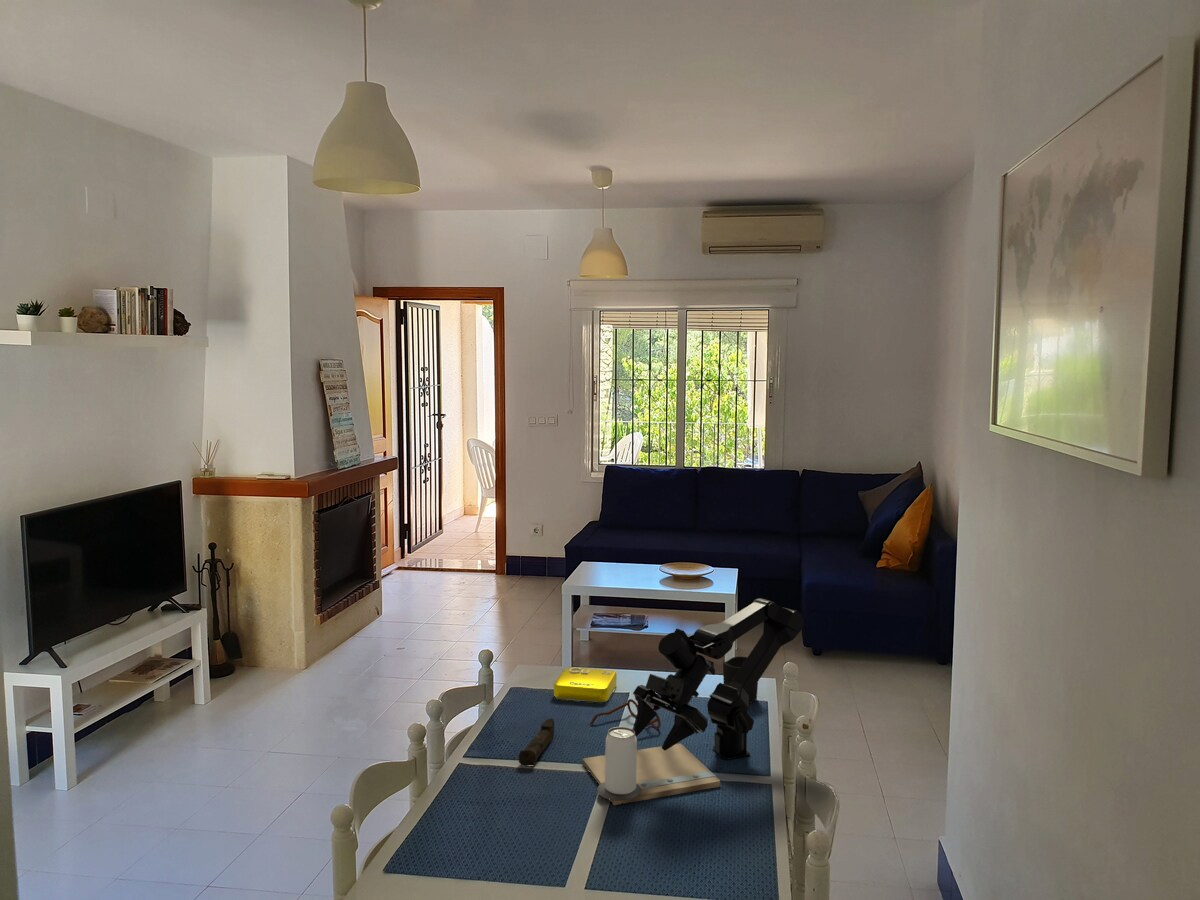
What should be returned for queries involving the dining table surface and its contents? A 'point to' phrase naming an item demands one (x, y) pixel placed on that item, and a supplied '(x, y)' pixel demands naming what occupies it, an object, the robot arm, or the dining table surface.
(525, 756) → the hand tool
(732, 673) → the pen holder
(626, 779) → the can
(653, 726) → the glasses
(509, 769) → the dining table surface
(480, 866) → the dining table surface
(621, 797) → the subfloor panel
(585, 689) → the element tile
